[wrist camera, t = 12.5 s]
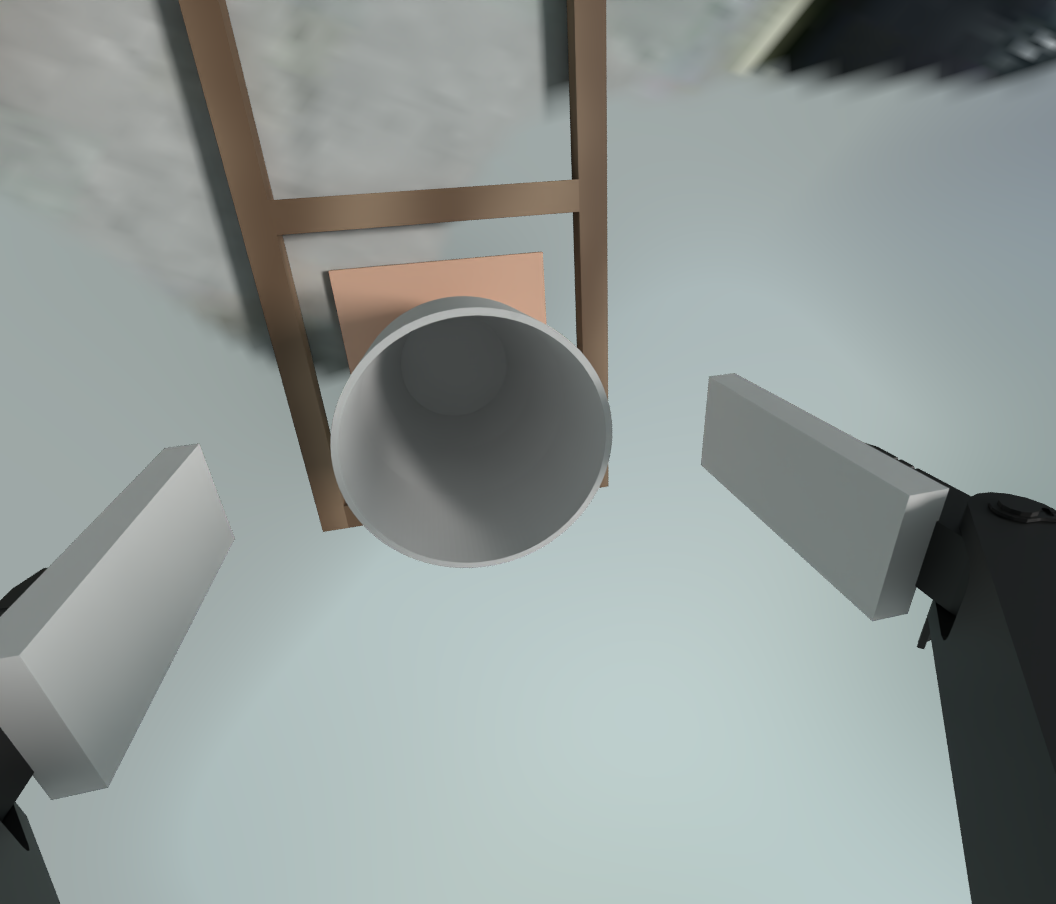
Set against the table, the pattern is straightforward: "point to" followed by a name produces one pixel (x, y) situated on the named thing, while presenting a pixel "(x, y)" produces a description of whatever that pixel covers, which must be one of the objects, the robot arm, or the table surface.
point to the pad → (430, 291)
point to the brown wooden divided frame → (397, 216)
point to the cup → (470, 434)
